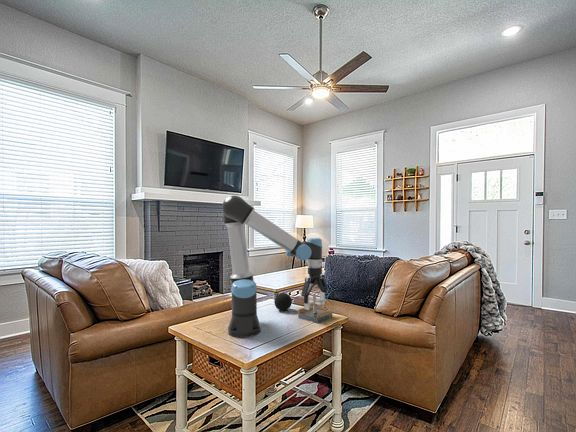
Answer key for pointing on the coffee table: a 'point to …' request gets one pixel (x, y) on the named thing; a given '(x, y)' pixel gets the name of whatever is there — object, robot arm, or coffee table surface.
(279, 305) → the speaker
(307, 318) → the block
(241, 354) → the coffee table surface
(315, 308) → the pipe connector
